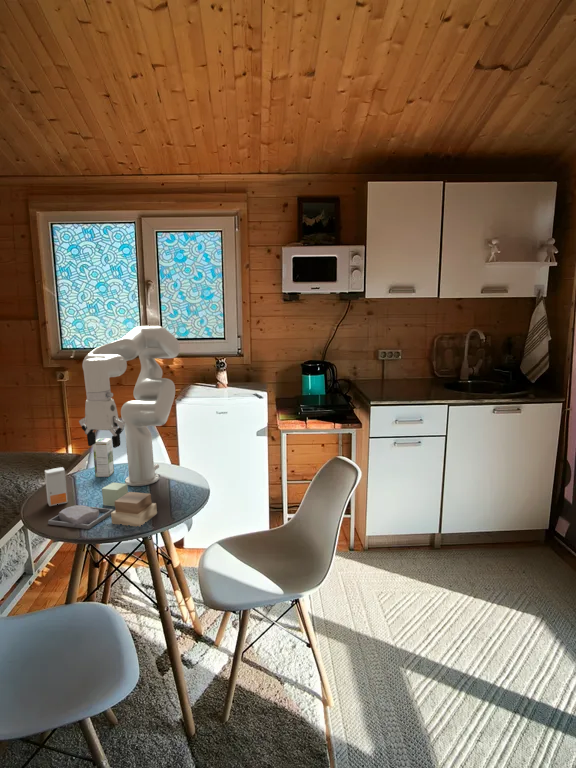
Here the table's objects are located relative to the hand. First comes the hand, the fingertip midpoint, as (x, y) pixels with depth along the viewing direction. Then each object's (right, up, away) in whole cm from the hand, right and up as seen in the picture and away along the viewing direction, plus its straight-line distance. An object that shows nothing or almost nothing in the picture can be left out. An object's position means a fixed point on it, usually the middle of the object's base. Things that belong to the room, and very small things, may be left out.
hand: (104, 445), depth 170 cm
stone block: (-5, -24, -6) cm, 25 cm away
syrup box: (-12, -16, +35) cm, 41 cm away
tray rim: (-5, -23, -6) cm, 24 cm away
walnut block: (+12, -19, -8) cm, 24 cm away
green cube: (+2, -21, +6) cm, 22 cm away
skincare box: (-19, -21, +7) cm, 29 cm away
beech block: (+12, -23, -7) cm, 27 cm away
